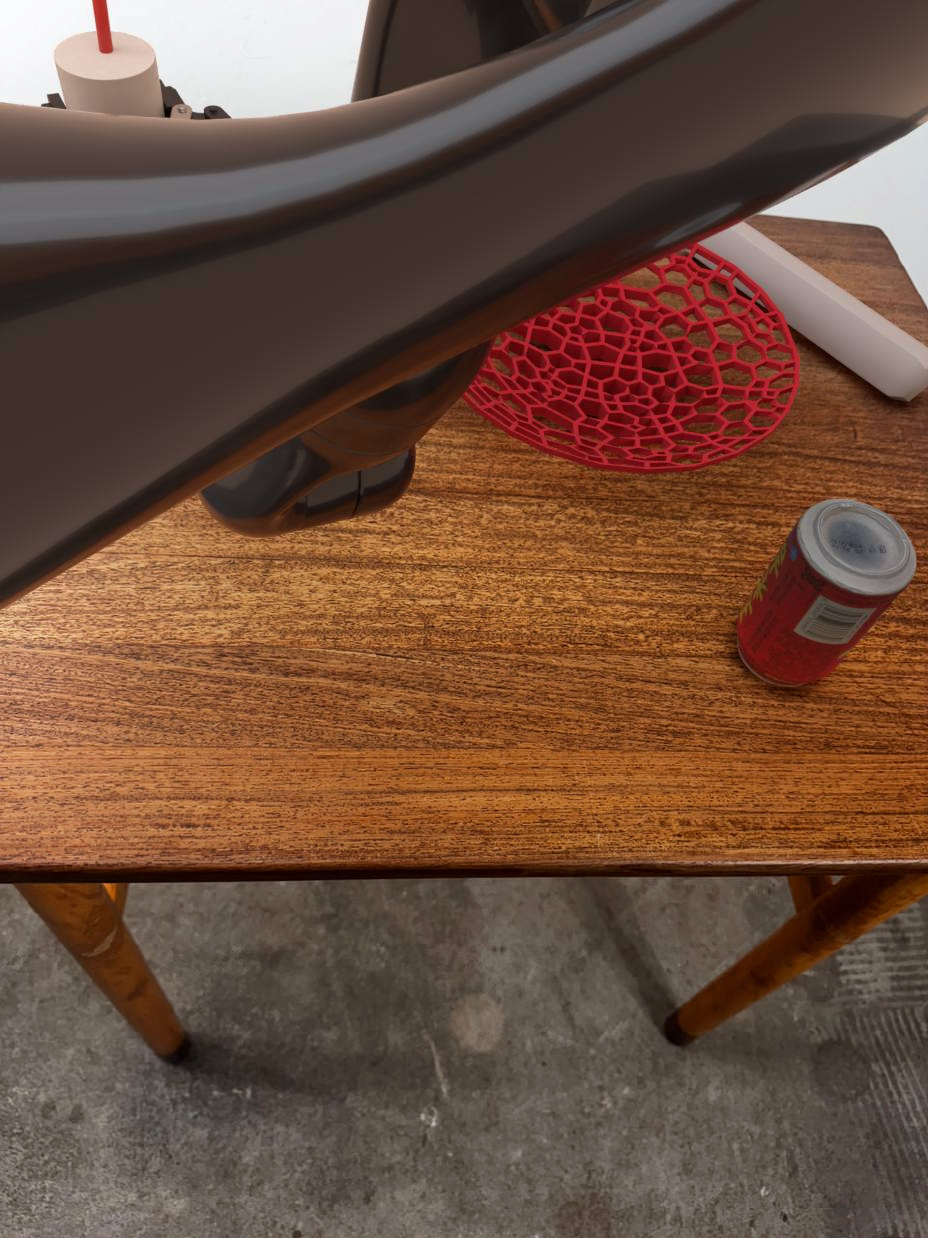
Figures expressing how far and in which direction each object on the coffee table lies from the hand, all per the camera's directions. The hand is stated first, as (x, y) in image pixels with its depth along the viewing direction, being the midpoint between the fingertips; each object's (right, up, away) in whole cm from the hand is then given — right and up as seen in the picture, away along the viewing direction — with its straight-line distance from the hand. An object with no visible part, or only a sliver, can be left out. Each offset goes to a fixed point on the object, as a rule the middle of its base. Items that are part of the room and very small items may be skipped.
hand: (106, 101), depth 59 cm
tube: (+53, -7, +23) cm, 58 cm away
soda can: (+44, -36, +3) cm, 57 cm away
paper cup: (+1, -5, +4) cm, 6 cm away
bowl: (+34, -14, +16) cm, 40 cm away
